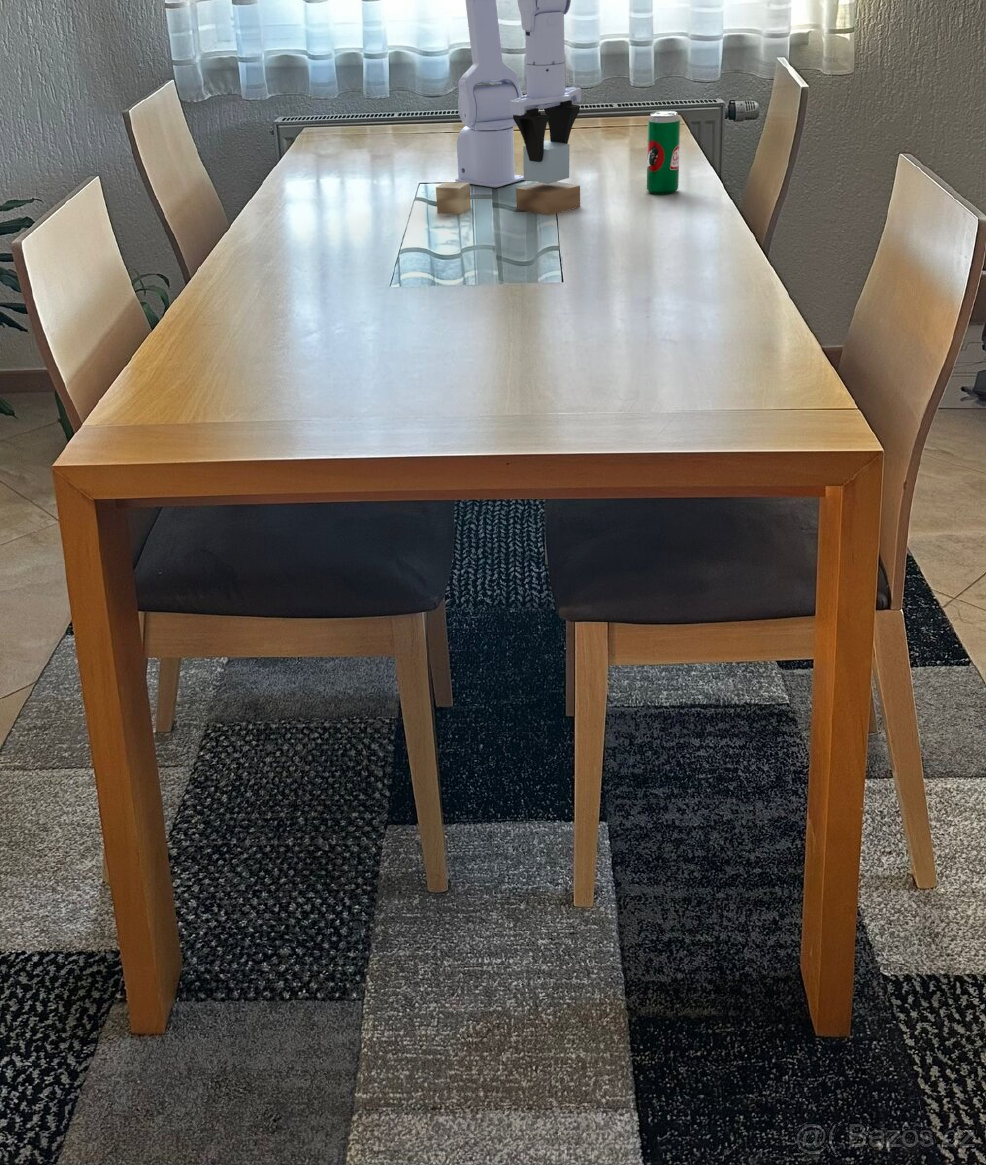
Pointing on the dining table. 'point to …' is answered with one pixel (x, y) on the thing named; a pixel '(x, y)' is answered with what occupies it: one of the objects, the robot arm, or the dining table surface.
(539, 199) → the walnut base
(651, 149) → the soda can
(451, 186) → the oak block
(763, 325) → the dining table surface
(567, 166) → the light grey cube
